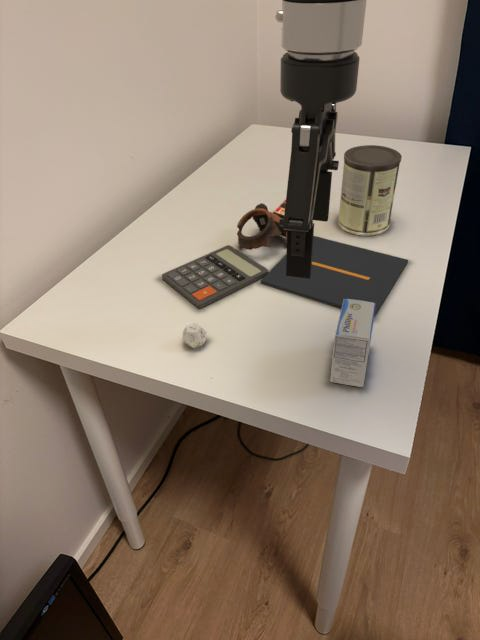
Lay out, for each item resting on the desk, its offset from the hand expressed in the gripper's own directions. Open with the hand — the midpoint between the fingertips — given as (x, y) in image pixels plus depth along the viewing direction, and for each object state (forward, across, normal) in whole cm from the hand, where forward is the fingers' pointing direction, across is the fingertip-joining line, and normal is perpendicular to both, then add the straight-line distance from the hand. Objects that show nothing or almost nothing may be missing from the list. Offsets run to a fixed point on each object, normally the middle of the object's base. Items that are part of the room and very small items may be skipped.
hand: (308, 245), depth 60 cm
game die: (+17, +3, -16) cm, 23 cm away
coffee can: (+17, -39, +5) cm, 43 cm away
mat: (+17, -20, +2) cm, 26 cm away
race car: (+17, -41, -9) cm, 45 cm away
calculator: (+17, -14, -18) cm, 29 cm away
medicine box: (+17, +2, +7) cm, 19 cm away
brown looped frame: (+17, -27, -13) cm, 35 cm away
